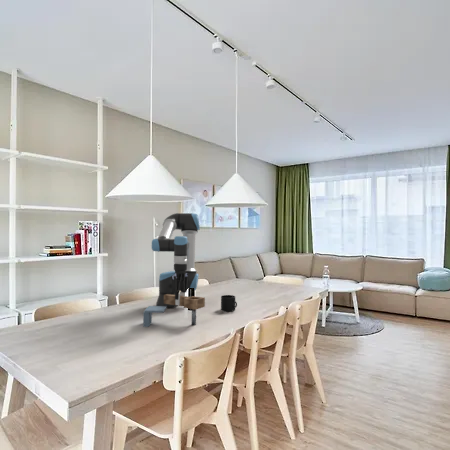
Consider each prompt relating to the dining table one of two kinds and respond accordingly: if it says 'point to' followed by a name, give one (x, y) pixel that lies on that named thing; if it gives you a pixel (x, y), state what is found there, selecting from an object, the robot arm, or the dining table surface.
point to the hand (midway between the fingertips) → (179, 304)
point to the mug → (228, 303)
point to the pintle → (193, 316)
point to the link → (186, 301)
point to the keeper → (148, 314)
